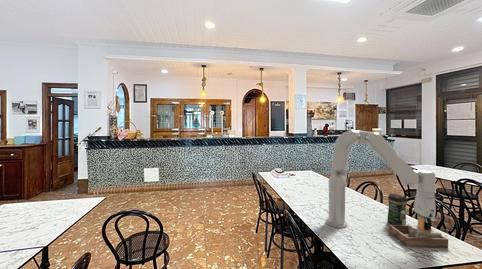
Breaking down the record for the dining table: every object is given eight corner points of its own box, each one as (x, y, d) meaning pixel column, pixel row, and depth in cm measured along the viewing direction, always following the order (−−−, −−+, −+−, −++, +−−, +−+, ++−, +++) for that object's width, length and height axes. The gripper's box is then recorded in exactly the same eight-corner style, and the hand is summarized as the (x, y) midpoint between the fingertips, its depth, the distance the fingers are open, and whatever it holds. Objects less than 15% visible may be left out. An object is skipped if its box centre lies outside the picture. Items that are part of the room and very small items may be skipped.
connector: (417, 231, 127) (417, 213, 127) (425, 231, 127) (426, 213, 126) (422, 235, 123) (423, 216, 122) (431, 235, 122) (432, 216, 122)
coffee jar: (384, 221, 149) (385, 192, 149) (394, 220, 152) (395, 191, 151) (398, 227, 140) (399, 197, 139) (408, 226, 142) (409, 196, 142)
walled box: (388, 232, 134) (388, 222, 133) (424, 233, 132) (425, 223, 132) (406, 246, 118) (407, 235, 117) (448, 248, 116) (448, 236, 116)
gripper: (407, 189, 133) (406, 221, 133) (429, 198, 116) (428, 234, 116) (421, 190, 132) (420, 221, 133) (445, 199, 115) (444, 235, 116)
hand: (424, 227), depth 125 cm, fingers closed on connector, 4 cm apart
